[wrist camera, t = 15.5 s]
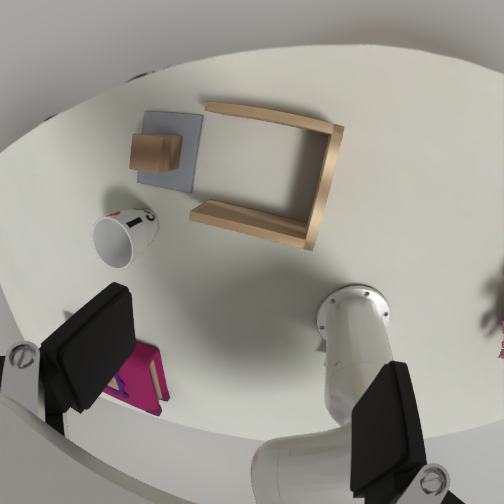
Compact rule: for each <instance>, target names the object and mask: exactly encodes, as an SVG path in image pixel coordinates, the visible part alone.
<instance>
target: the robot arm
mask: <svg viewBox="0 0 504 504" xmlns="http://www.w3.org/2000/svg"><path fill="white" fill-rule="evenodd" d="M389 321H390V309H389V305H388V303H387V300H386V299H385V298H384V296H383V295H382V294H381V293H379V292H378V291H376V290H375V289H373V288H370V287H366V286H349V287H345V288H342V289H340V290H337V291H335V292H334V293H332V294H331V295H330V296H328V297H327V298H326V299H325V300H324V302H323V303H322V304H321V306H320V308H319V311H318V315H317V327H318V330H319V333H320V334H321V336H322V337H323V338H324V340H325V341H326V360H325V361H324V366H325V367H326V373H325V394H324V398H325V405H326V408H327V410H328V412H329V414H330V415H331V417H332V418H333V419H334V420H335V421H336V422H337V423H338V424H339V425H340V426H341V427H340V428H335V429H331V430H328V431H323V432H316V433H310V434H303V435H295V436H287V437H280V438H275V439H271V440H269V441H267V442H265V443H263V444H262V445H261V446H259V448H258V449H257V450H256V452H255V454H254V456H253V459H252V464H251V483H252V488H253V493H254V497H255V500H256V504H465V503H463V502H462V501H461V500H460V499H458V498H457V497H456V496H455V495H454V494H453V493H451V492H450V491H449V490H448V489H449V486H450V478H449V474H448V472H447V470H446V469H445V468H444V467H443V466H441V465H439V464H436V463H431V464H427V461H426V453H425V447H424V441H423V434H422V429H421V423H420V418H419V413H418V409H417V404H416V399H415V395H414V391H413V386H412V382H411V378H410V374H409V371H408V367H407V364H406V363H403V362H397V361H394V359H393V355H392V351H391V347H390V343H389V339H388V335H387V331H386V329H387V327H388V325H389ZM135 347H136V339H135V330H134V319H133V307H132V295H131V293H130V292H129V289H128V287H126V286H124V285H121V284H118V283H116V282H113V283H111V284H110V285H108V286H107V287H106V288H105V289H104V290H102V291H101V292H100V293H99V294H97V295H96V296H95V297H94V298H93V299H91V300H90V301H89V302H88V303H87V304H85V305H84V306H83V307H82V308H81V309H80V310H78V311H77V312H76V313H75V314H74V315H73V316H71V317H70V318H69V319H68V320H67V321H66V322H65V323H63V324H62V325H61V326H60V327H59V328H58V329H57V330H56V331H54V332H53V333H52V334H51V335H50V336H49V337H48V338H47V339H46V340H44V341H43V342H42V343H41V347H40V348H39V349H38V347H37V346H36V345H35V344H34V343H32V342H29V341H21V342H18V343H16V344H14V345H12V346H11V347H10V348H9V350H8V351H7V354H6V356H0V504H197V503H194V502H191V501H188V500H185V499H182V498H179V497H177V496H174V495H172V494H169V493H167V492H164V491H162V490H159V489H157V488H155V487H152V486H150V485H148V484H146V483H143V482H141V481H139V480H137V479H135V478H133V477H131V476H129V475H127V474H125V473H123V472H121V471H119V470H117V469H116V468H114V467H112V466H110V465H108V464H106V463H105V462H103V461H101V460H100V459H98V458H96V457H95V456H93V455H91V454H90V453H88V452H87V451H85V450H83V449H82V448H80V447H79V446H77V445H76V444H74V443H73V442H71V441H70V438H69V430H68V421H67V410H68V409H69V408H70V407H71V408H73V409H74V410H76V411H77V412H79V413H80V414H81V413H82V412H83V411H84V409H86V410H87V409H89V408H90V407H91V405H92V404H93V403H94V402H95V400H96V399H97V398H98V396H99V395H100V394H101V393H102V391H103V390H104V389H105V387H106V386H107V385H108V384H109V382H110V381H111V380H112V378H113V377H114V376H115V375H116V373H117V372H118V371H119V370H120V368H121V367H122V366H123V364H124V363H125V362H126V361H127V359H128V358H129V357H130V356H131V354H132V353H133V352H134V350H135Z"/></svg>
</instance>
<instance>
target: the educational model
mask: <svg viewBox="0 0 504 504" xmlns="http://www.w3.org/2000/svg"><path fill="white" fill-rule="evenodd" d="M502 321H503V322H502V324H503V325H504V320H502ZM502 334H504V327H503V329H502ZM502 347H503V348H504V341H502ZM501 350H502V351H501V352H500V355H499V357H498V358H500V357H501V358H502V359H504V349H501Z"/></svg>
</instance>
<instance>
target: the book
mask: <svg viewBox="0 0 504 504" xmlns="http://www.w3.org/2000/svg"><path fill="white" fill-rule="evenodd" d="M102 392H104V393H106V394H108V395H111V396H113V397H115V398H117V399H119V400H121V401H123V402H126V403H128V404H130V405H132V406H135V407H137V408H139V409H142V410H144V411H146V412H148V413H150V414H153V415H155V416H160V414H161V412H162V409H161V406H160V405H159V401H158V400H163V401H168V400H169V398H170V396H169V392H168V389H167V385H166V380H165V376H164V371H163V366H162V360H161V355H160V350H159V349H156V348H153V347H150V346H147V345H144V344H141V343H138V342H136V347H135V350H134V352H133V353H132V354H131V356H130V357H129V358H128V359H127V361H126V362H125V363H124V364H123V366H122V367H121V368H120V370H119V371H118V372H117V373H116V375H115V376H114V377H113V378H112V380H111V381H110V382H109V384H108V385H107V386H106V387H105V389H104V390H103V391H102Z"/></svg>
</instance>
